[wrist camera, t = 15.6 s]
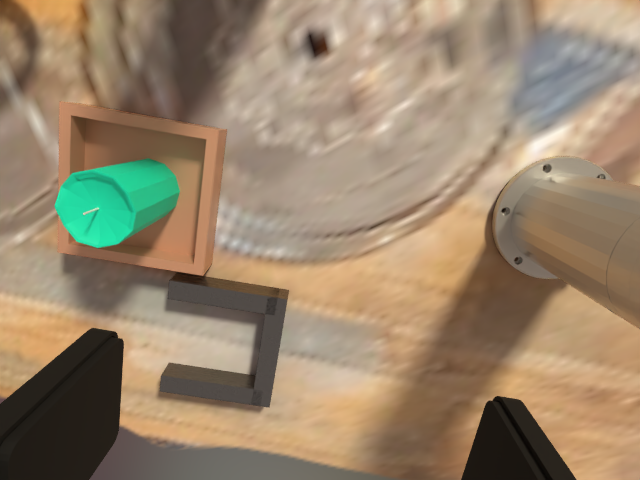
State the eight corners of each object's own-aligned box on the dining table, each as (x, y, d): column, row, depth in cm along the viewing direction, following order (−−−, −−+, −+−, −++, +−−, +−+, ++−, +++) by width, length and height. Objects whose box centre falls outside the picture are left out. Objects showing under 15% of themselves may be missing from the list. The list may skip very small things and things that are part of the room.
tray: (227, 129, 41) (218, 129, 38) (211, 264, 45) (203, 275, 41) (81, 103, 40) (59, 101, 37) (77, 242, 44) (57, 252, 40)
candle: (159, 147, 40) (96, 156, 29) (191, 203, 42) (142, 233, 30) (106, 174, 41) (23, 194, 29) (139, 228, 42) (72, 267, 31)
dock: (289, 290, 45) (287, 299, 43) (271, 393, 49) (269, 407, 46) (177, 272, 45) (169, 280, 42) (167, 378, 48) (159, 391, 46)
